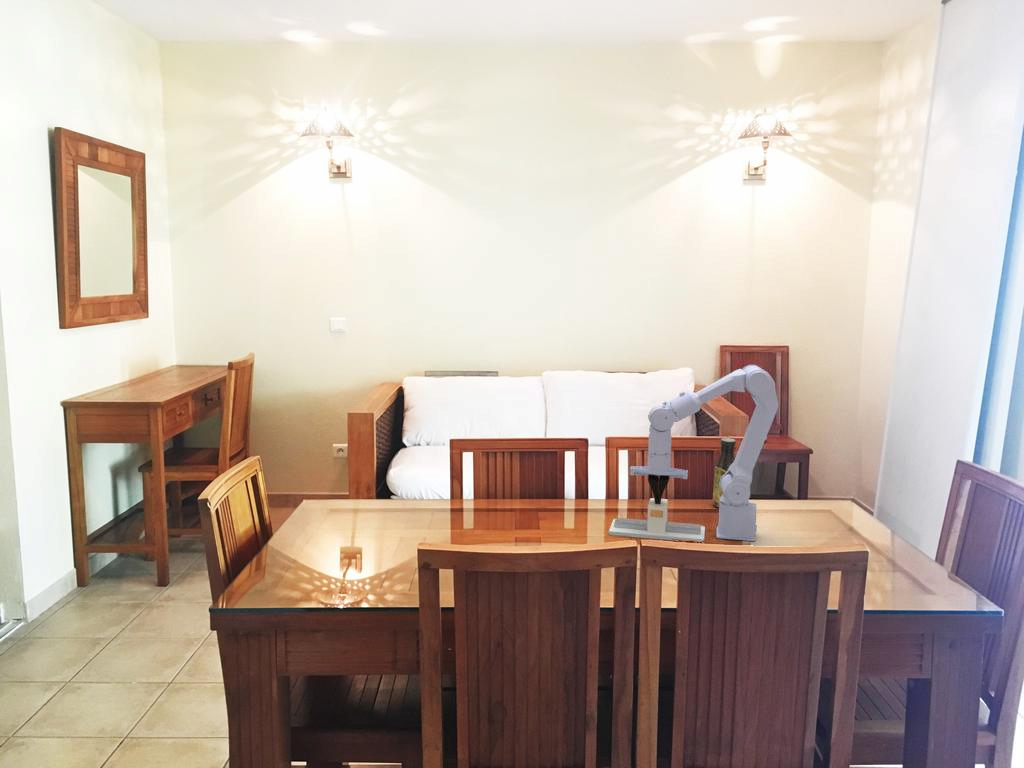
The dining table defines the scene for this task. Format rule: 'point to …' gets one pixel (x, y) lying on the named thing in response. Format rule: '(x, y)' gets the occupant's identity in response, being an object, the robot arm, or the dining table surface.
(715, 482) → the sauce bottle
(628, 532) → the board
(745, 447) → the robot arm
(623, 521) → the metal rail
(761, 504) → the dining table surface
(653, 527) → the block
